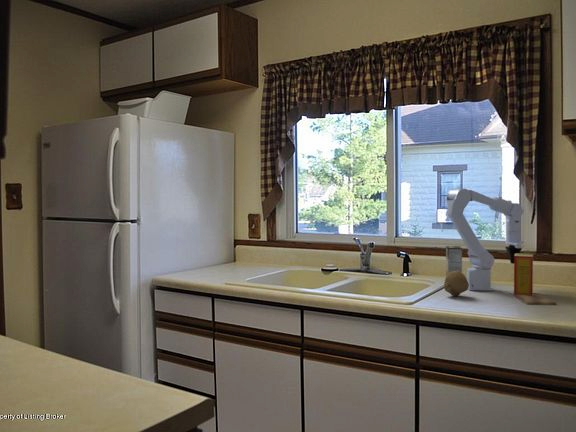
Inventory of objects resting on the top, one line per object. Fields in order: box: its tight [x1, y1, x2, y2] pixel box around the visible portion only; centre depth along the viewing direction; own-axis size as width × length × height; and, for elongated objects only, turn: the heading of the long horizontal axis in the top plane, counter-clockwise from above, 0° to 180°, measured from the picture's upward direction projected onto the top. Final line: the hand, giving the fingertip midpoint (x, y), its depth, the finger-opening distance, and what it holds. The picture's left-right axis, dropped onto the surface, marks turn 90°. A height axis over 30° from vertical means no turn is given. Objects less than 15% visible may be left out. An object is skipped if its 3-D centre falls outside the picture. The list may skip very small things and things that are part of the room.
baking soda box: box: [513, 252, 534, 297], centre depth 201 cm, size 10×6×16 cm
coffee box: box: [445, 245, 463, 277], centre depth 231 cm, size 9×6×16 cm
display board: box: [514, 294, 557, 306], centre depth 188 cm, size 10×14×1 cm
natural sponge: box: [443, 271, 469, 297], centre depth 198 cm, size 9×9×10 cm
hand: (513, 263), depth 214 cm, fingers closed
